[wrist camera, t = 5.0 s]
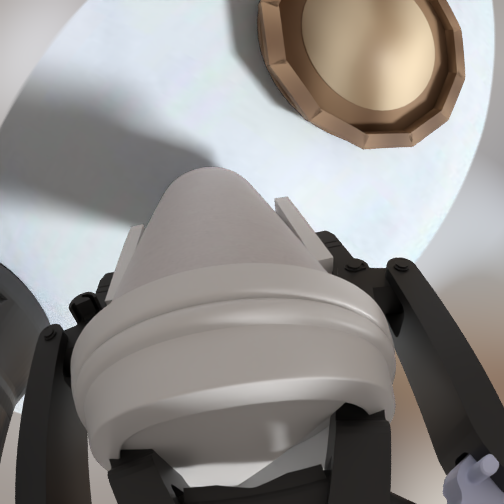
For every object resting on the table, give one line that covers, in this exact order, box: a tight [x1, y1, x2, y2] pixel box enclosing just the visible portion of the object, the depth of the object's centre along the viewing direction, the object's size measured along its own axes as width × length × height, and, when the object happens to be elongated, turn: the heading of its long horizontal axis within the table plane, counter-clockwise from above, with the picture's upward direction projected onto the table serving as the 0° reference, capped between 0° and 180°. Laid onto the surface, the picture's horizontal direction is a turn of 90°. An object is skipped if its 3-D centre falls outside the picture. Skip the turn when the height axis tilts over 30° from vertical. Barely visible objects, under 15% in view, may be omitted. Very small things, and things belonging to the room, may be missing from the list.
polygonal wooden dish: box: [257, 0, 465, 149], centre depth 15 cm, size 16×16×2 cm
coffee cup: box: [71, 167, 396, 488], centre depth 13 cm, size 10×10×15 cm
